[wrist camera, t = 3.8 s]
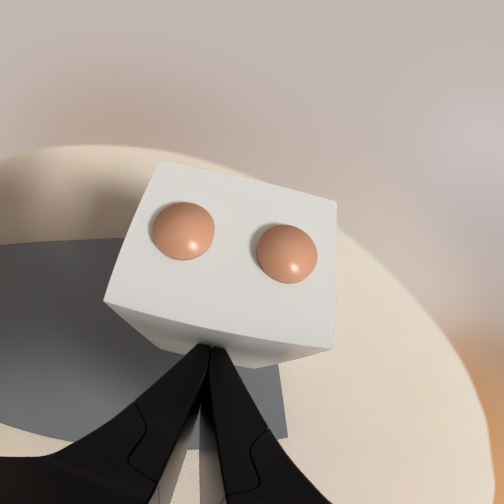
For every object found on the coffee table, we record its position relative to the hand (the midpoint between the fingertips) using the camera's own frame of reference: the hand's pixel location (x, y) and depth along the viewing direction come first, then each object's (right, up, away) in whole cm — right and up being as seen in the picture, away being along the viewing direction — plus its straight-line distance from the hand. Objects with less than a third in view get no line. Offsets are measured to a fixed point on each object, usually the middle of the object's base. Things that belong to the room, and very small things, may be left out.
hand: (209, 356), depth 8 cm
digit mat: (-10, -2, +4) cm, 11 cm away
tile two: (-1, -1, +6) cm, 6 cm away
